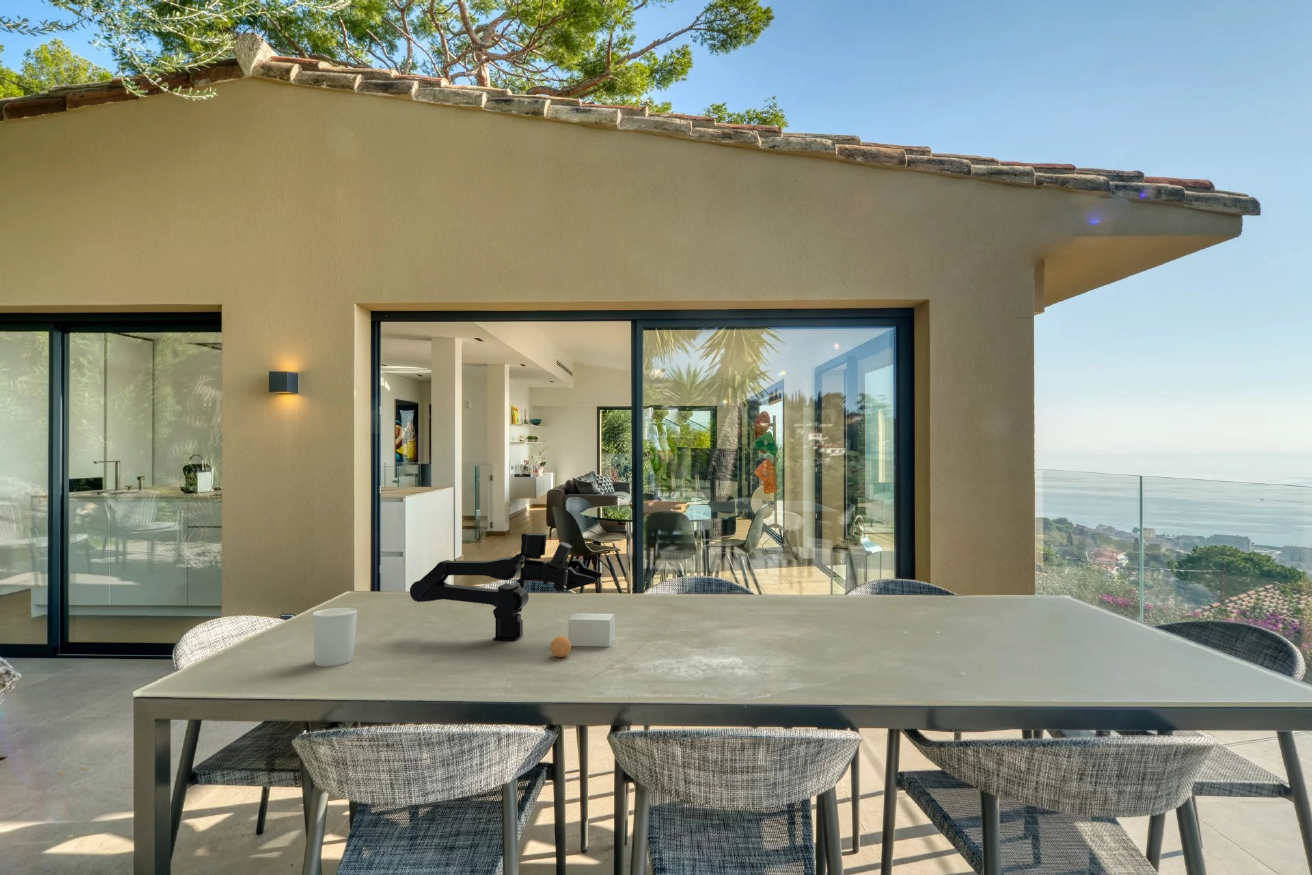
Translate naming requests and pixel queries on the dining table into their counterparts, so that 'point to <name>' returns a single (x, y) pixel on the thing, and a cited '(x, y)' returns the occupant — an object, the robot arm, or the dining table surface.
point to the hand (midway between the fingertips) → (598, 577)
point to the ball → (560, 646)
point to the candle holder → (334, 636)
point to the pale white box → (591, 629)
